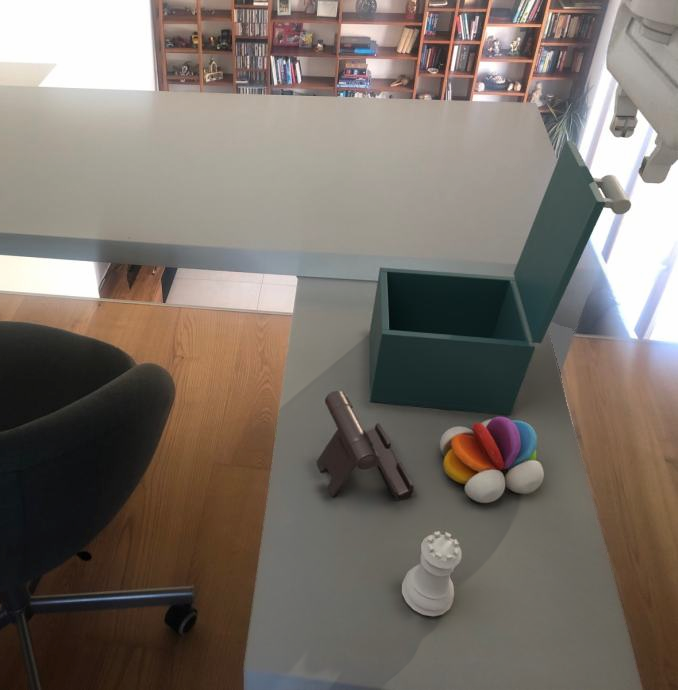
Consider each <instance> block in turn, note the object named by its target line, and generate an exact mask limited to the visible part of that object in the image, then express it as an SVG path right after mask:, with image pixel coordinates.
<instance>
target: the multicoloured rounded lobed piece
mask: <svg viewBox="0 0 678 690" xmlns="http://www.w3.org/2000/svg"><path fill="white" fill-rule="evenodd" d="M537 444H538V437H537V433H536V431H535V429H534V428H533V426H532V425H530V424H529V423H528V422H525V421H522V420H518V419H517V420H511V419H510V418H508V417H505V416H496V417H493V418H489V419H486V420H484V421H482V422H480V421H477V422H475V423H473V424H472V429H470V428H468V427H466V426H459V425H458V426H452V427H450V428H448V429H447V430H446V431H445V432H443V434H442V435H441V438H440V440H439V449H440V453H441V454H442V456H444V458H443V462H442V466H443V471H444V472H445V474H446V475H447V476H448V477H449V478H450V479H452V481H455V482H457V483H459V484H463V485H464V492H465V495H466V496H468V498H470V499H471V500H473V501H474V502H477V503H482V504H488V503H492V502H495V501H497V500H498V499H499V498H501V496H502V495H503V494H504V491H505V489H509V490H510V491H512V492H513V493H516V494H529V493H532V492H534V491H536V490H537V489H538V488H539V487H540V486H541V485H542V483H543V480H544V478H545V477H544V476H545V475H544V474H545V473H544V468H543V465H542V464H541V462H540V461H537V450H536V448H537V446H538V445H537Z"/></svg>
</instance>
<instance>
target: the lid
mask: <svg viewBox="0 0 678 690" xmlns="http://www.w3.org/2000/svg"><path fill="white" fill-rule="evenodd" d="M631 208H632V202H631V201H630V199H629V197H628V195H627V193H626V192H625V190H624V188H623V187H622V185H621V183H620V181H619V180H618V178H617V177H616V176H615V175H613V174H607V175H604V176H602V177H601V178H598V177H593V175H592V173H591V171H590V169H589V168H588V166H587V164H586V162H585V160H584V158H583V156H582V154H581V152H580V150H579V149H578V147H577V144H576V143H575V141H574V140H568V139H567V140H566V139H565V141H564V143H563V147H562V149H561V151H560V153H559V157H558V159H557V162H556V164H555V166H554V169H553V172H552V174H551V176H550V180H549V182H548V185H547V187H546V189H545V192H544V195H543V197H542V199H541V202H540V204H539V207H538V210H537V212H536V215H535V217H534V220H533V223H532V225H531V227H530V230H529V233H528V235H527V238H526V240H525V243H524V246H523V248H522V251H521V253H520V256H519V258H518V261H517V263H516V266H515V269H514V271H513V277H515V280H516V283H517V287H518V291H519V294H520V298H521V301H522V305H523V308H524V312H525V315H526V319H527V322H528V326H529V330H530V333H531V337H532V340H533V343H535V344H542V342H543V339H544V338H545V335H546V334H547V331H548V329H549V327H550V325H551V322H552V320H553V318H554V316H555V314H556V311H557V310H558V307H559V305H560V304H561V301H562V299H563V296H564V294H565V292H566V291H567V288H568V285H569V284H570V282H571V279H572V277H573V275H574V273H575V271H576V269H577V266H578V264H579V262H580V260H581V258H582V256H583V253H584V251H585V250H586V247H587V245H588V242H589V241H590V239H591V235H593V232H594V230H595V227H596V225H597V223H598V221H599V218H600V217H601V214H602V213H603V210H604V209H611V211H612V213H614V214H615V215H624V214H626V213H628V212H629V211H630V209H631Z"/></svg>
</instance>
